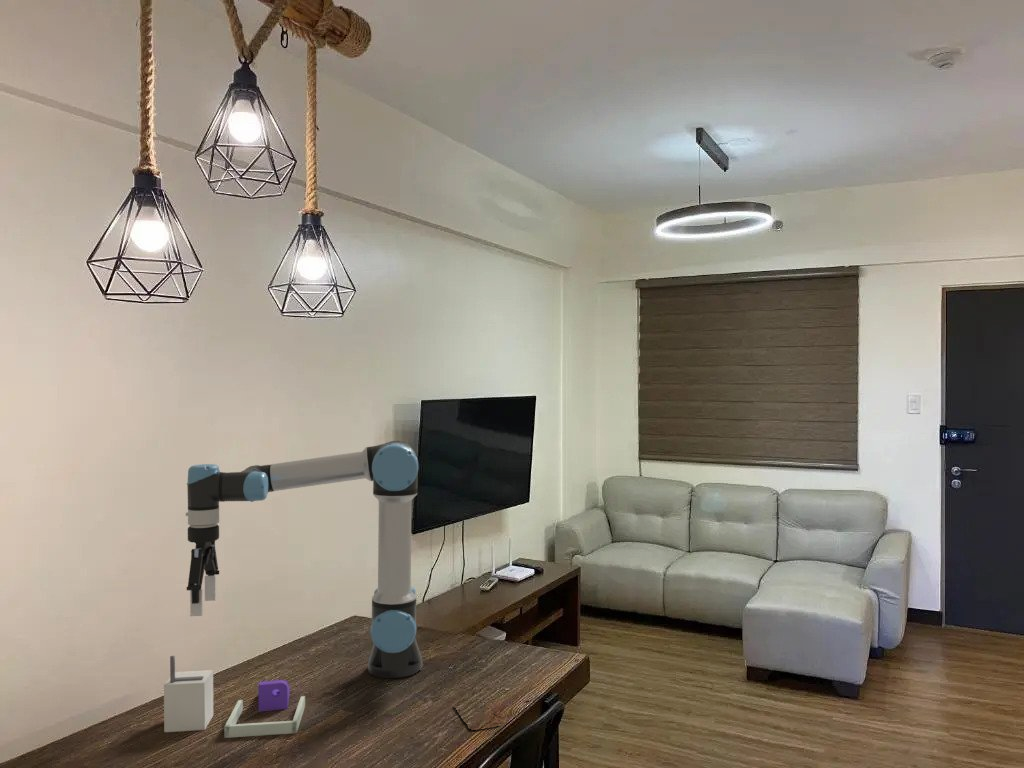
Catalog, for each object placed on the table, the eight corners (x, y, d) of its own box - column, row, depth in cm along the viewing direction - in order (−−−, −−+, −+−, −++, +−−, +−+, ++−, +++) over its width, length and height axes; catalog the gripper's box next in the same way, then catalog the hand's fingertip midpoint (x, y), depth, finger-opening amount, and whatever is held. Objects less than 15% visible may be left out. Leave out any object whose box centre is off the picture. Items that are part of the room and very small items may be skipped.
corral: (305, 706, 192) (305, 696, 192) (296, 733, 177) (296, 722, 177) (238, 710, 190) (238, 700, 190) (224, 737, 175) (224, 726, 175)
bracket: (287, 709, 191) (287, 682, 191) (258, 712, 189) (258, 685, 189) (289, 691, 202) (289, 665, 202) (262, 693, 201) (262, 667, 201)
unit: (213, 714, 187) (213, 644, 187) (204, 729, 179) (204, 656, 179) (175, 716, 186) (174, 646, 186) (164, 732, 178) (163, 659, 178)
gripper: (201, 517, 209) (201, 595, 209) (173, 534, 184) (173, 623, 184) (229, 516, 210) (229, 593, 210) (206, 534, 185) (206, 621, 185)
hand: (203, 607), depth 197 cm, fingers open, 13 cm apart
